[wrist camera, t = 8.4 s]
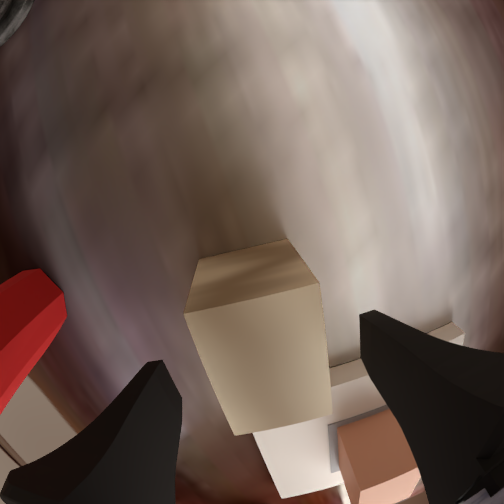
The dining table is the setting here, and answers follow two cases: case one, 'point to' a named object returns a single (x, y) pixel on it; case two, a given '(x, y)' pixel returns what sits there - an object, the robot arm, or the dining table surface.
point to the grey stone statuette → (12, 16)
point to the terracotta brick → (376, 460)
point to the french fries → (26, 326)
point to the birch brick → (261, 336)
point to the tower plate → (327, 429)
